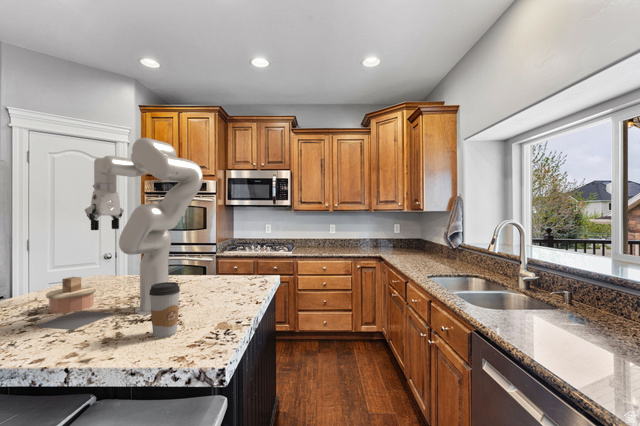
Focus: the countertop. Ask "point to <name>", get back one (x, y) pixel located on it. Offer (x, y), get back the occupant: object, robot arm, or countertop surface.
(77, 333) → the countertop surface
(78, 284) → the lid
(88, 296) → the bowl
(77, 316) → the mat
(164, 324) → the coffee cup
